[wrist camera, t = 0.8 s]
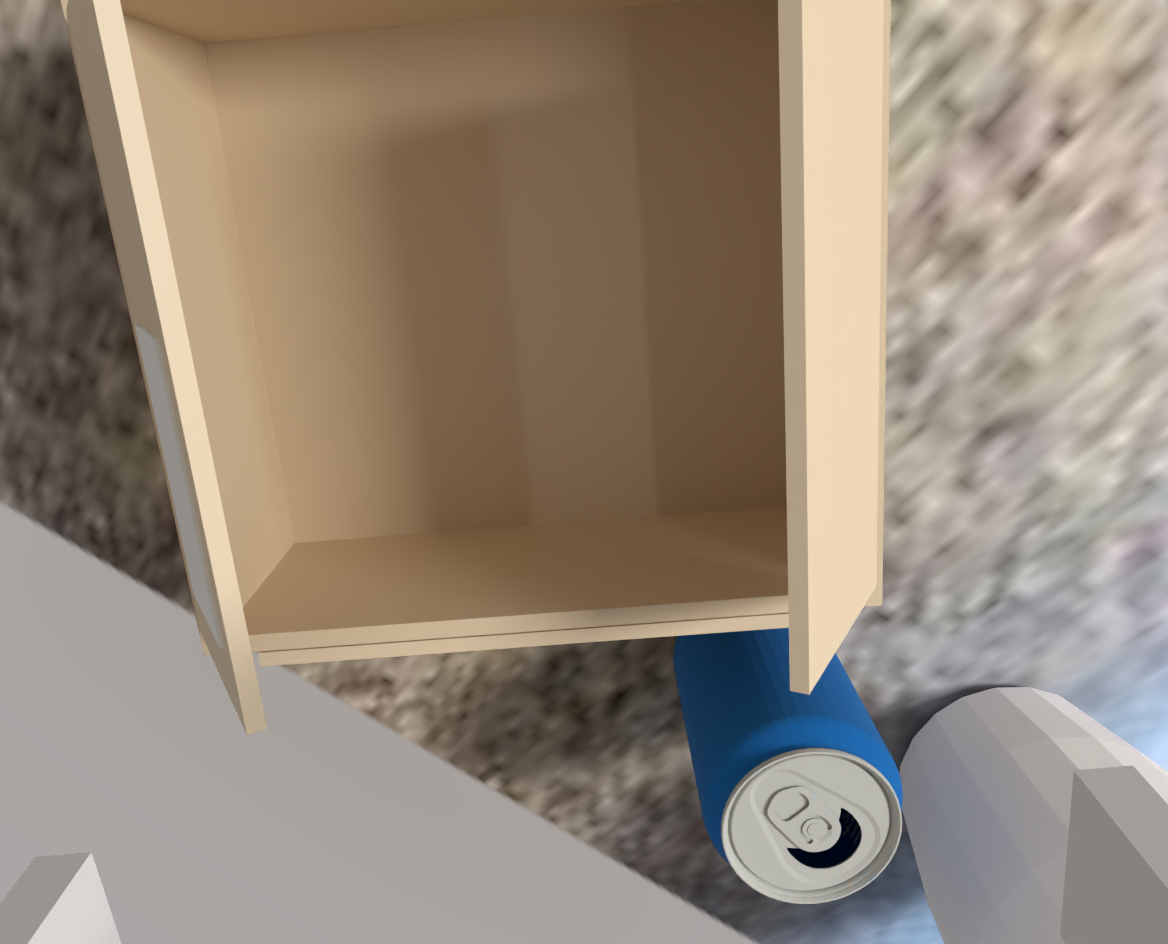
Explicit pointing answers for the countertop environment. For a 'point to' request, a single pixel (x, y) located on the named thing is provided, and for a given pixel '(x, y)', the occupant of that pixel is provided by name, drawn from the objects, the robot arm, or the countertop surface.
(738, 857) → the beverage can
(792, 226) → the flap
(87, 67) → the flap
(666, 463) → the carton
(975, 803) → the bottle
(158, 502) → the countertop surface
